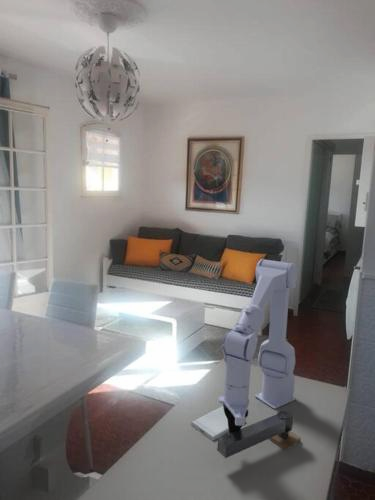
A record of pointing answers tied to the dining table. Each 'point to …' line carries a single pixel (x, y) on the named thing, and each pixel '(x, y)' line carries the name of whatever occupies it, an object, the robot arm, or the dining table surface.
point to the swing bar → (255, 433)
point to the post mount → (286, 439)
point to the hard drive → (212, 424)
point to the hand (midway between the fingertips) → (233, 434)
